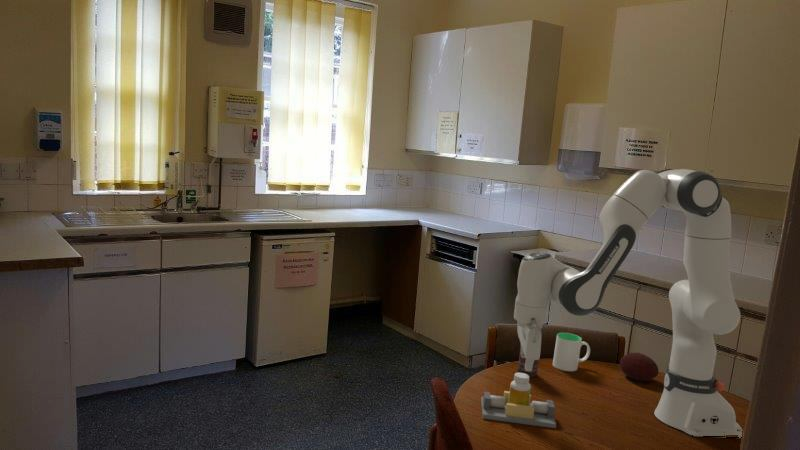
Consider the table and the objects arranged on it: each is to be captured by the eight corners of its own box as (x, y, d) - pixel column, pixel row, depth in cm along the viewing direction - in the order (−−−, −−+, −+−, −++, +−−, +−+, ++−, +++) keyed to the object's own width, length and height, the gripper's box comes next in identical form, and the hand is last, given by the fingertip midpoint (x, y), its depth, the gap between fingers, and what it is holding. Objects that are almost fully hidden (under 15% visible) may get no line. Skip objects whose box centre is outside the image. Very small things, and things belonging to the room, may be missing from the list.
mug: (580, 362, 210) (584, 333, 208) (592, 371, 202) (597, 341, 200) (548, 361, 207) (552, 332, 205) (559, 371, 199) (563, 340, 198)
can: (513, 370, 196) (518, 328, 194) (530, 369, 198) (536, 328, 196) (522, 378, 190) (528, 335, 188) (540, 377, 192) (546, 335, 190)
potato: (614, 369, 206) (617, 346, 205) (647, 373, 206) (651, 349, 204) (625, 383, 194) (629, 358, 193) (660, 387, 194) (664, 362, 193)
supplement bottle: (527, 415, 162) (532, 380, 160) (507, 411, 163) (511, 377, 161) (527, 406, 167) (532, 373, 165) (507, 403, 168) (512, 369, 166)
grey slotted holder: (549, 409, 169) (551, 395, 169) (555, 428, 159) (557, 413, 158) (481, 400, 171) (482, 386, 170) (482, 418, 160) (484, 403, 159)
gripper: (549, 327, 150) (543, 380, 152) (538, 304, 170) (533, 351, 172) (523, 324, 150) (518, 377, 153) (515, 302, 171) (510, 349, 173)
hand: (526, 363), depth 163 cm, fingers open, 8 cm apart
